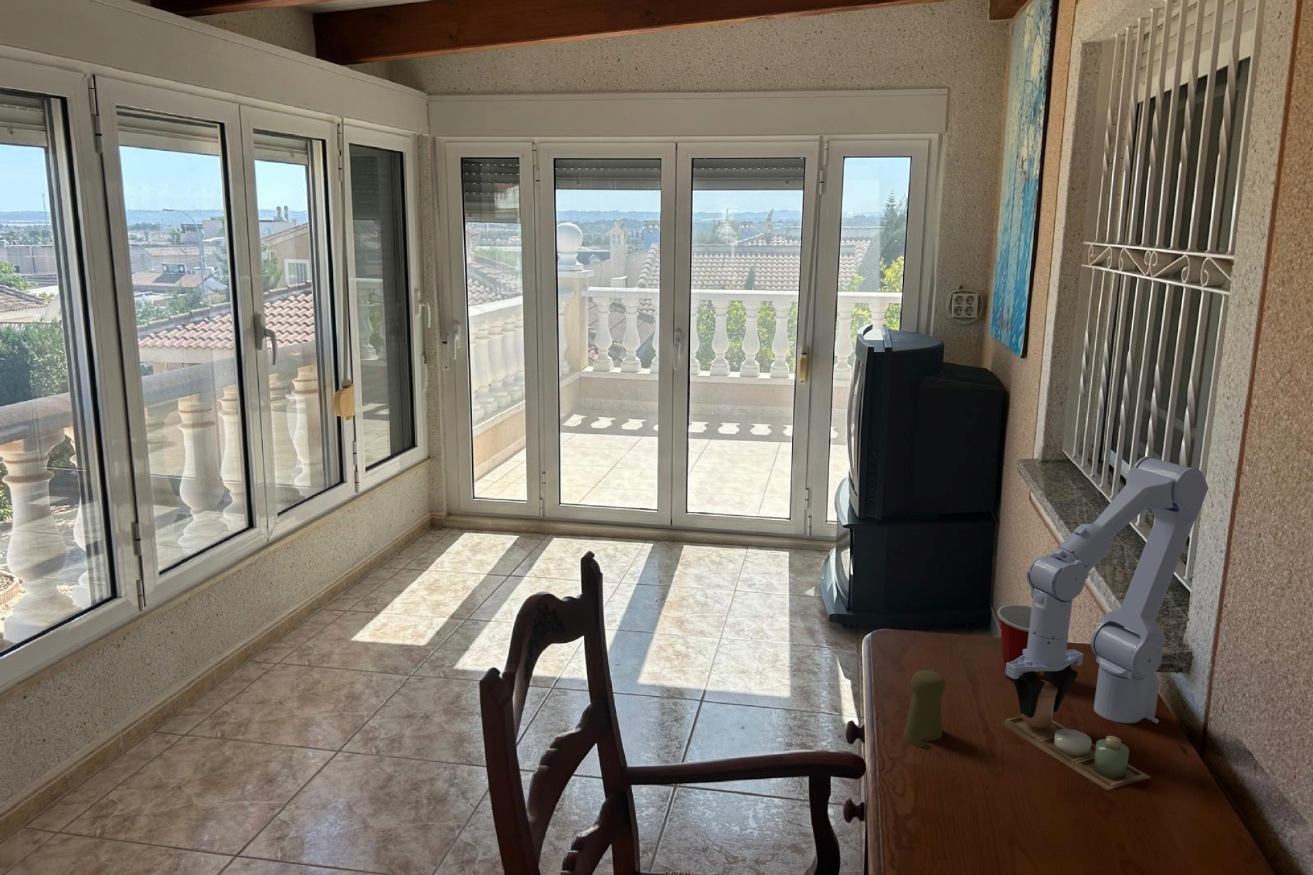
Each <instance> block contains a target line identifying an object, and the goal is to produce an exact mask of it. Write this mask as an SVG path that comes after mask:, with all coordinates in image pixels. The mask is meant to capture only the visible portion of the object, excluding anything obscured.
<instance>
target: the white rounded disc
mask: <svg viewBox="0 0 1313 875" xmlns="http://www.w3.org/2000/svg"><path fill="white" fill-rule="evenodd" d="M1091 743H1093V742H1092V738H1091V737H1090V736H1089V735H1087V733H1084V732H1083V731H1080V730H1076V729H1073V728H1072V729H1071V728H1067V729H1060V730H1057V731H1056V732H1055V739H1054V748H1056V749H1058V750H1059V751H1061V752H1063V753H1064V754H1066V755H1068V756H1070V757H1076V758H1080V757H1083V756H1087V755H1090V750H1091Z"/></svg>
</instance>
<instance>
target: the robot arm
mask: <svg viewBox="0 0 1313 875" xmlns="http://www.w3.org/2000/svg"><path fill="white" fill-rule="evenodd" d="M1125 483H1126V484H1125V485H1124V487H1123V488H1122V489H1121V490H1120V491H1119V493H1117V495H1116V496H1115V497H1114V498H1113V500H1112V501H1111V502H1110V503H1109V504H1108V505H1107V506H1106V508H1105V509H1104V510H1103V511H1102V512H1101V513H1100V515H1099V516H1098V517H1097V518H1096V520H1095V521H1094V522H1093V523H1081V524H1080V525H1078V526H1077V527H1076V528H1075V529H1074V530H1073V532H1072V533H1071V534H1070V535H1069V536H1068V537H1067V538H1066V539H1065V540H1064V541H1063V542H1061V543H1060V545H1058V547H1056V548H1055V549H1054V551H1052V552H1051V553H1050V554H1046V555H1045V556H1044V555H1043V556H1040V557H1037V558H1036V559H1035V560H1034V561H1033V562H1032V563H1031V565H1030V567H1029V570H1028V571H1026V581H1027V583H1028V585H1029V586H1030V597H1031V599H1032V603H1031V607H1032V611H1031V619H1030V627H1029V636H1028V645H1027V649H1023V653H1022V654H1024V655H1022V656H1020V657H1019V658H1017V659H1015V660H1014V661H1012V662H1008V663H1006V671H1005V674H1006V675H1008V676H1009V677H1011V678H1012V680H1013V681H1012V680H1011V681H1012V682H1013V684H1014V687H1015V690H1016V694H1017V699H1018V704H1019V711H1020V714H1021V715H1022V714H1024V715H1025V716H1027V717H1029V718H1032V717H1033V716H1034V713H1035V710H1036V704H1037V700H1038V696H1039V694H1040V691H1041V689H1042V687H1043V686H1044V684H1045V682H1043V681H1041V680H1042V679H1040V678H1039V677H1038V678H1037V675H1036V672H1040V673H1041V672H1043V677H1044V681H1047V682H1050V683H1052V684H1053V685H1055V686H1056V687H1057V689H1058V691H1057V695H1056V697H1055V703H1054V710H1053V713H1055V712H1058V711H1059V708H1060V705H1061V703H1062V701H1063V699H1064V698H1065V695H1066V692H1067V691H1068V689H1069V688H1070V686H1071V685H1072V684H1073V683H1074V681H1075V680H1077V678H1078V674H1079V673H1078V671H1077V670H1075V669H1073V668H1072V665H1074V666H1077V667H1078V666H1083V659H1084V653H1082V652H1080V651H1079V650H1078V651H1077V650H1076V649H1068V650H1067V646H1068V640H1069V630H1070V625H1071V624H1070V623H1071V615H1072V608H1073V600H1074V599H1075V598H1077V597H1078V596H1079V595H1081V593H1082V591H1083V590H1084V586H1085V582H1086V581H1087V579H1088V578H1089V575H1090V574H1089V572H1090V571H1091V570H1092V569H1093V568H1094V567H1095V566H1096V565H1097V564H1098V563H1099V562H1100V561H1101V560H1103V558H1104V557H1105V556H1106V555H1108V553H1109V552H1110V551H1111V550H1112V538H1113V537H1114V536H1116V535H1117V534H1118V533H1119V532H1120V531H1121V530H1123V529H1124V528H1126V526H1127V525H1128V524H1130V523H1131V522H1132V521H1133V520H1135V519H1136V518H1137V517H1138V516H1140V515H1141V513H1143V512H1144V511H1145V510H1147V509H1150V510H1151V513H1152V515H1153V517H1154V522H1153V524H1152V527H1151V530H1150V531H1149V532H1150V533H1149V535H1148V538H1147V540H1146V542H1145V545H1144V548H1143V550H1142V553H1141V555H1140V558H1139V561H1138V563H1137V565H1136V569H1135V570H1134V574H1133V576H1132V578H1131V581H1130V584H1129V586H1128V589H1127V591H1126V594H1125V596H1124V600H1123V602H1122V605H1121V607H1119V608H1116V609H1113V610H1109V611H1108V612H1106V613H1105V614H1104V616H1103V618H1102V621H1101V622H1100V623H1099V625H1098V626H1097V627H1096V629H1095V630H1094V631H1093V633H1092V636H1091V638H1090V648H1091V651H1092V653H1093V654H1094V655H1096V660H1095V661H1096V663H1098V665H1099V666H1098V673H1097V681H1096V689H1095V694H1094V697H1095V698H1094V701H1093V702H1094V703H1093V710H1094V712H1095V713H1096V714H1098V716H1100V717H1102V718H1104V719H1107V720H1109V721H1113V722H1115V723H1121V724H1133V723H1134V724H1135V723H1137V722H1139V721H1141V720H1142V719H1146V720H1149V721H1151V722H1153V723H1155V724H1159V723H1160V720H1159V719H1158V718H1156V716H1155V715H1156V710H1157V703H1158V697H1159V691H1160V690H1159V689H1160V685H1159V684H1160V683H1159V679H1158V676H1157V674H1156V672H1157V670H1158V669H1159V668H1160V666H1161V664H1162V661H1163V648H1164V645H1165V642H1166V640H1167V639H1166V638H1167V637H1166V635H1165V634H1164V632H1163V630H1162V629H1161V628H1160V626H1159V624H1158V622H1157V617H1158V615H1159V612H1160V610H1161V607H1162V605H1163V602H1164V601H1165V597H1166V594H1167V592H1168V590H1169V587H1170V585H1171V581H1172V580H1173V576H1174V574H1175V571H1176V569H1177V567H1178V564H1179V561H1180V560H1181V556H1182V554H1183V551H1184V549H1185V546H1186V544H1187V541H1188V538H1189V536H1190V534H1191V532H1192V528H1193V526H1194V523H1195V521H1197V518H1198V516H1199V514H1200V511H1201V508H1202V506H1203V503H1204V500H1205V499H1206V495H1207V493H1208V490H1209V485H1208V483H1207V481H1206V477H1205V475H1204V473H1203V472H1202V470H1200V469H1198V468H1195V467H1188V466H1184V465H1180V464H1177V463H1172V462H1169V461H1166V460H1161V459H1157V458H1156V457H1154V456H1149V455H1148V456H1147V455H1146V456H1143V457H1141V458H1139V459H1138V460H1137V461H1136V462H1135V463H1134V465H1133V466H1132V467H1131V468H1130V469H1129V470H1128V471H1127V473H1126V479H1125ZM1126 628H1127V629H1126ZM1128 629H1129V630H1128ZM1005 674H1004V675H1005Z"/></svg>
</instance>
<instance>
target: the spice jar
mask: <svg viewBox="0 0 1313 875" xmlns="http://www.w3.org/2000/svg"><path fill="white" fill-rule="evenodd" d="M1040 680H1041V681H1043V682H1045V684H1044V686H1043V687H1042V689H1041V691H1040V694H1039V696H1038V700H1037V704H1036V710H1035V713H1034V716H1033V717H1032V718H1029V717H1027V716H1025V715H1024V714H1022V713H1021V716H1022V720H1023V721H1024V722H1025V723H1027V724H1029V725H1031V726H1034V727H1039V728H1046V727H1049V726H1051V723H1052V720H1053V716H1054V712H1053V710H1054V703H1055V697H1056V695H1057V691H1058V689H1057V687H1056V686H1055V685H1053V684H1052V683H1050V682H1047V681H1045V680H1043V679H1040Z"/></svg>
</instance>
